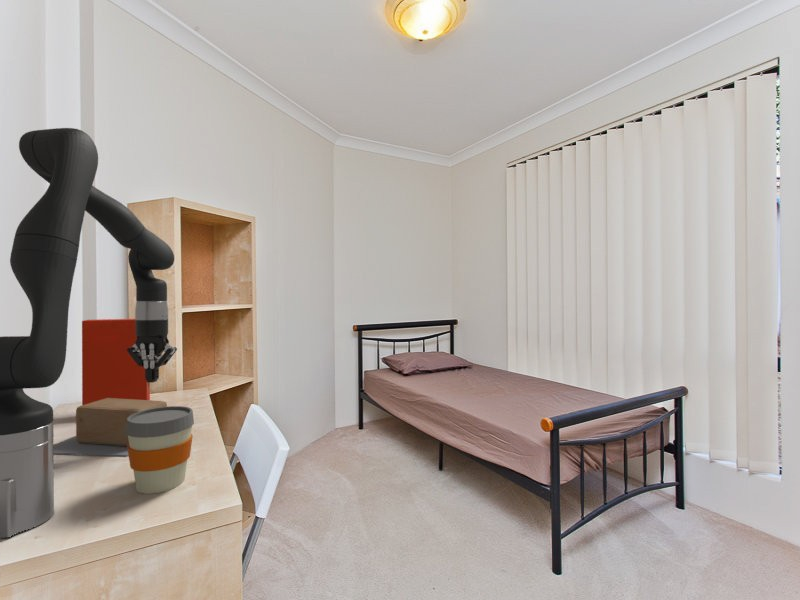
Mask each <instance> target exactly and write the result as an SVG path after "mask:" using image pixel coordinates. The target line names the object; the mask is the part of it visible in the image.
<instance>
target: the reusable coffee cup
mask: <svg viewBox="0 0 800 600" xmlns="http://www.w3.org/2000/svg"><path fill="white" fill-rule="evenodd" d="M193 411H194V410H193V408H192V407H188V406H181V405H179V406H178V405H171V406H170V405H169V406H167V407H159V408H153V409H148V410H144V411H140V412H137V413H135V414H132V415H131V416H129V417H128V418H127V425H126V434H127V435H128V439H129V444H128V445H127V449H128V460H129V461H128V462H129V466H130V469H131V470H133V477H134V483H135V489H136V492H137V493H140V494H145V495H147V494H148V495H151V494H160V493H163V492H167V491H171V490H173V489H176V488H177V487H179V486H180V485H182V484H183V483H184V482H185V480H186V479H185V478H186V472H187V463H188V459H189V458H190V456H191V452H192V451H191V450H192V444H193V437H194V436H193V433H192V428H193V425H194V424H195V419H194V412H193Z"/></svg>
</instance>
